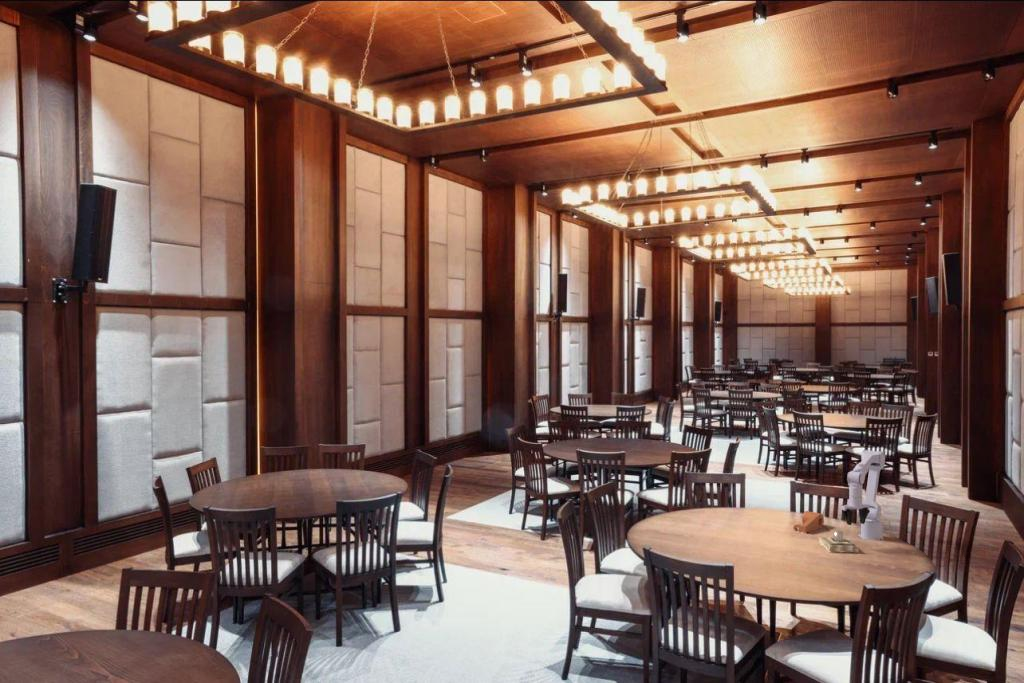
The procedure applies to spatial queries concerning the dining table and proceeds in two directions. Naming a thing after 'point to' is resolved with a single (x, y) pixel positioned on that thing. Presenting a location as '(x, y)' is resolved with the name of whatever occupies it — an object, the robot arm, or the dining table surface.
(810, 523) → the brown blocky piece
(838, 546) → the jig
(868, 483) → the robot arm
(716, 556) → the dining table surface
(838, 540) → the bushing
